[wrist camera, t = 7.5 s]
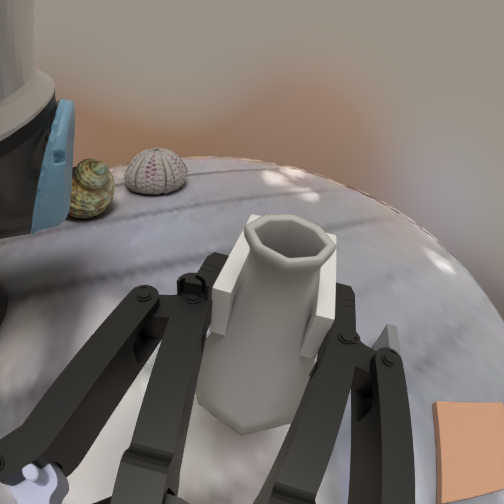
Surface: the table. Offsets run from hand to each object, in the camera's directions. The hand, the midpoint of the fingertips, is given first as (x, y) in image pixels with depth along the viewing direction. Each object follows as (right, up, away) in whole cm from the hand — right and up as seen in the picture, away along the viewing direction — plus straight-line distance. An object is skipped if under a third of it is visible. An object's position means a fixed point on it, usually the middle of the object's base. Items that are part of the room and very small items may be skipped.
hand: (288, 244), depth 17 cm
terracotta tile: (+22, -21, +1) cm, 31 cm away
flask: (-2, -8, -1) cm, 8 cm away
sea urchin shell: (-22, +13, +41) cm, 49 cm away
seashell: (-32, +7, +30) cm, 44 cm away
